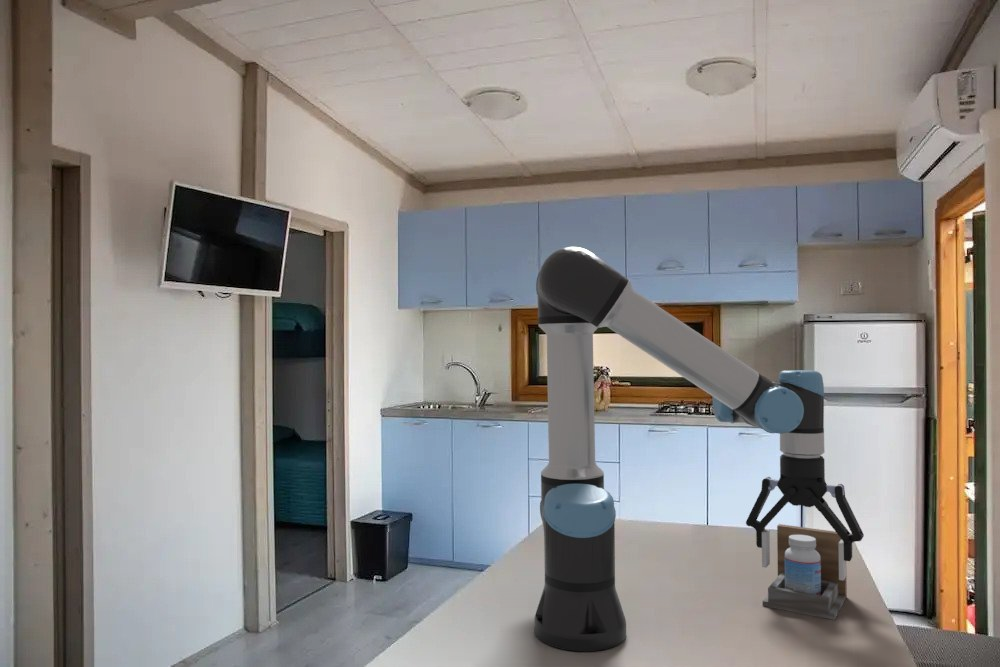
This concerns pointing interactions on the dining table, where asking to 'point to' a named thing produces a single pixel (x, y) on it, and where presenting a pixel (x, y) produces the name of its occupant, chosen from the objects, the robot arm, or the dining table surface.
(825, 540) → the cup bracket
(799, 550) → the pill bottle
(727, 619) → the dining table surface
